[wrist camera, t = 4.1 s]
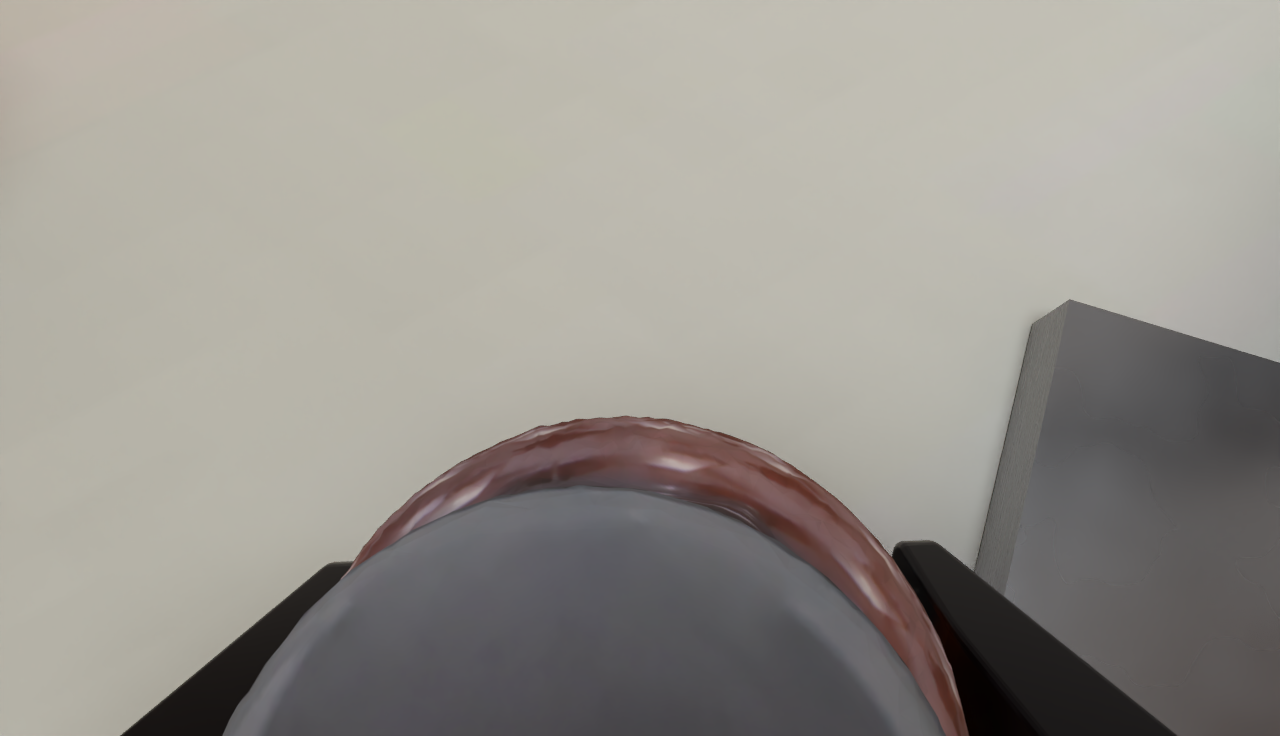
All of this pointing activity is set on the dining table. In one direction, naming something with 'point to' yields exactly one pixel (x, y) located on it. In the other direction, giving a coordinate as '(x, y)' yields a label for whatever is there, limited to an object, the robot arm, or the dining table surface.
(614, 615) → the supplement bottle
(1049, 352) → the arbor press
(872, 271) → the dining table surface
